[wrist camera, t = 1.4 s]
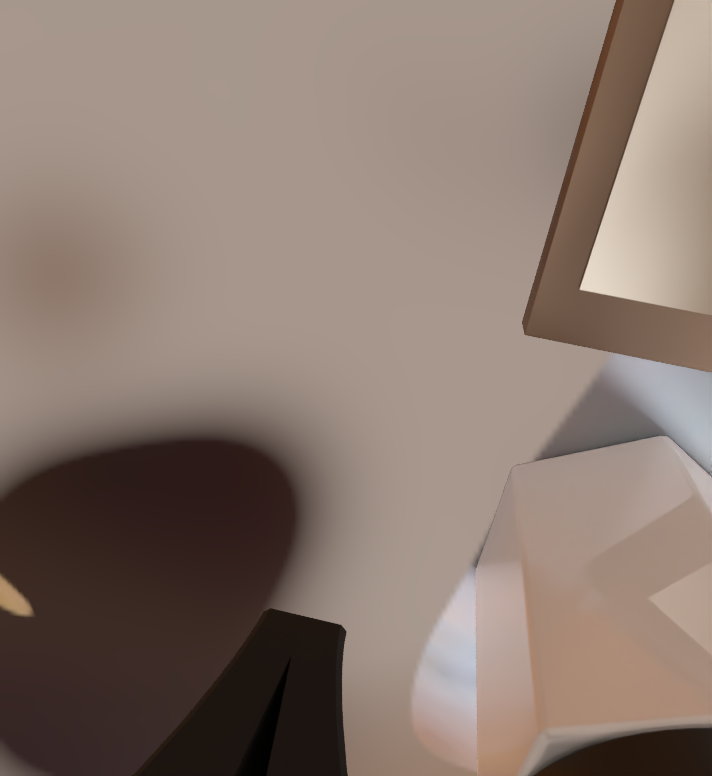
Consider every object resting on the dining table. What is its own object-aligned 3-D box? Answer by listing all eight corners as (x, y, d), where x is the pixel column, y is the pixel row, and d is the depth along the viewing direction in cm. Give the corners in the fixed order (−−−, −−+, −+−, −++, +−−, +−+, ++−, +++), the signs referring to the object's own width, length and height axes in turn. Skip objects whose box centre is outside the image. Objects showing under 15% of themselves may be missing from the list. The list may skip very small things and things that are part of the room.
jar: (814, 560, 20) (1223, 1128, 9) (604, 677, 23) (718, 1184, 12) (618, 378, 18) (831, 801, 7) (425, 532, 22) (381, 970, 11)
